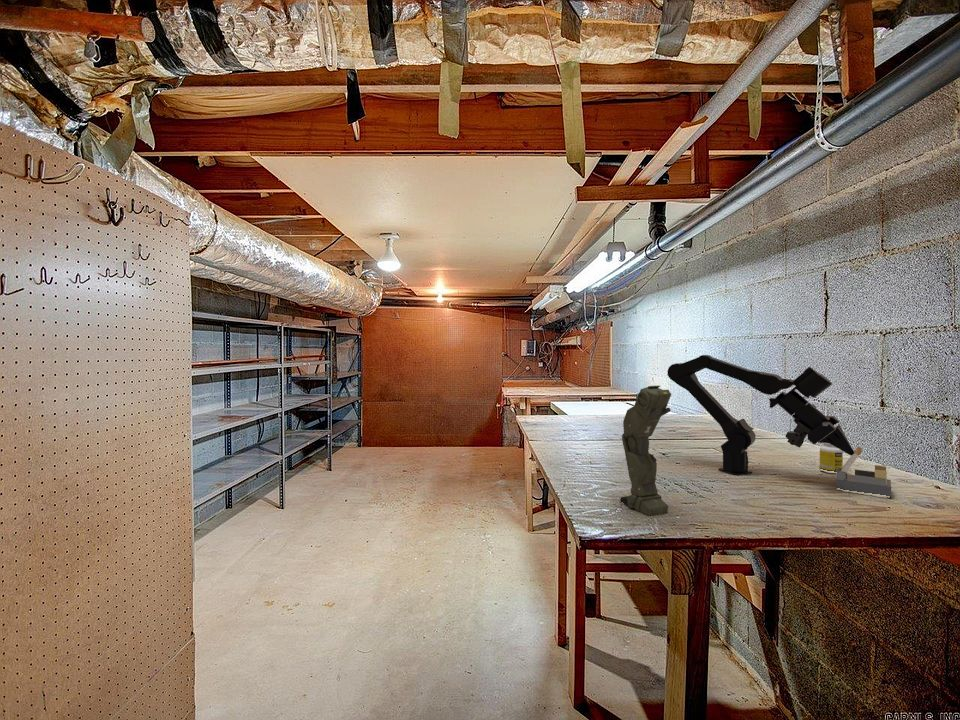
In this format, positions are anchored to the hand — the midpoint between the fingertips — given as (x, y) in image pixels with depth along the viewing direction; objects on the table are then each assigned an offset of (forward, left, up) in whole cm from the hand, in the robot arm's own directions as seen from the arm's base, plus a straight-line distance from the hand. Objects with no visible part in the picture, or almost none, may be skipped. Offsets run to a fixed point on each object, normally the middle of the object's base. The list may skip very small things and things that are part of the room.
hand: (852, 454), depth 115 cm
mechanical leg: (-60, +7, -10) cm, 61 cm away
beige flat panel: (-1, +2, -6) cm, 6 cm away
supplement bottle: (+12, +14, -10) cm, 21 cm away
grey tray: (+1, -2, -9) cm, 10 cm away
